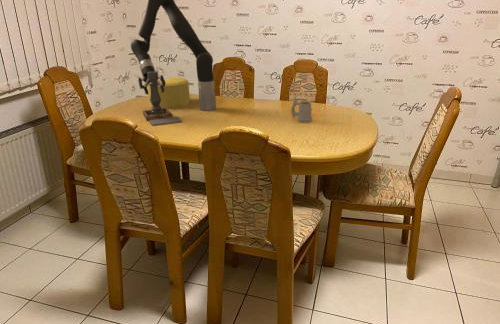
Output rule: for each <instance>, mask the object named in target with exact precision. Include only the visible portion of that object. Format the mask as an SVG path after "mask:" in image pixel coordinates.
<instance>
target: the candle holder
mask: <svg viewBox="0 0 500 324" xmlns="http://www.w3.org/2000/svg"><path fill="white" fill-rule="evenodd" d="M147 75H148V79H149V81H150V83H149V85H150V87H151V95H150V102H151V104H152V105H153V106H152V107H151V109H150V110H152V111H151V114H150V115H159V114H164V113H162V110H161V109H162V108H161V106H160V103H161V98H160V95H159V92H158V84H159V83H158V82H157V80H158V77H159V72H158V71H156V70H155V71H150V72H147Z"/></svg>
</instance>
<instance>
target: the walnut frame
mask: <svg viewBox="0 0 500 324" xmlns="http://www.w3.org/2000/svg"><path fill="white" fill-rule="evenodd" d="M161 110H162V113H163V114H159V115H152V114H151V111H152V109H144V110H142V115H143V117H144V119H145V121H148V122H149V120H153V119H162V118H170V117H173V115H172V114H173V113H172V112H171V111H170V110H169V108H162V109H161Z"/></svg>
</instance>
